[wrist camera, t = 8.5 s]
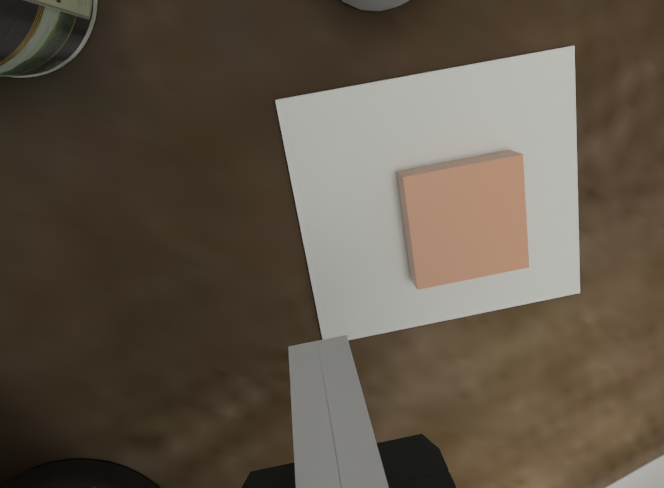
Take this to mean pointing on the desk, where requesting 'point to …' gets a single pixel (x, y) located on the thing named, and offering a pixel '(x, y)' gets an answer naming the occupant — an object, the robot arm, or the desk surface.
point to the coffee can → (42, 34)
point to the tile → (464, 218)
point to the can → (375, 4)
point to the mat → (423, 150)
